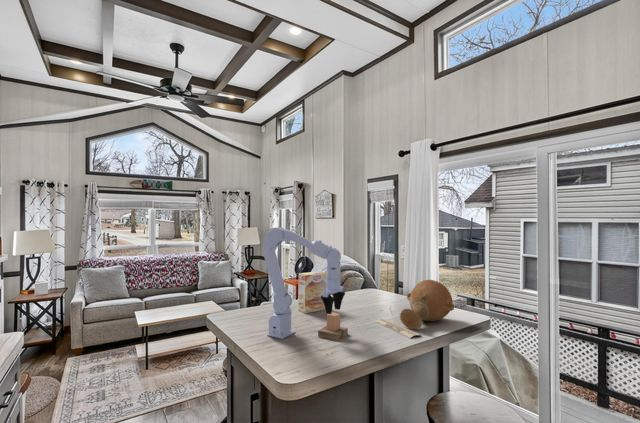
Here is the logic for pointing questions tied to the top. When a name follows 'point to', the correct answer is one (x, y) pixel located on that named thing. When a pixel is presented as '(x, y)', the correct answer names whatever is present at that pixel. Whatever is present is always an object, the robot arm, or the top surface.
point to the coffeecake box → (311, 291)
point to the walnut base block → (333, 333)
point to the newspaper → (397, 328)
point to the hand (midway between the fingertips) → (333, 311)
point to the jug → (427, 304)
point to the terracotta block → (333, 321)
